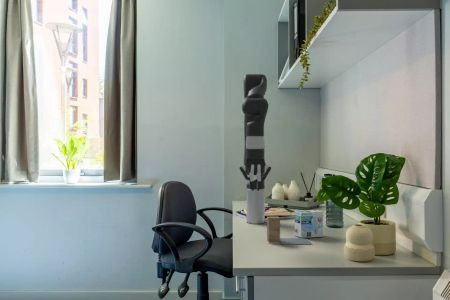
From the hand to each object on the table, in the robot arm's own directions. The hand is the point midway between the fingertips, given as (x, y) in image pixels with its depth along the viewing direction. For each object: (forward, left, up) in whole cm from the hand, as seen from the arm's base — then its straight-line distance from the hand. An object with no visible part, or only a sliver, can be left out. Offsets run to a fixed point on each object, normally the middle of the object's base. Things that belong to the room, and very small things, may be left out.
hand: (255, 190), depth 163 cm
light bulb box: (-9, +25, -21) cm, 34 cm away
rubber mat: (0, +16, -21) cm, 26 cm away
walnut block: (0, +8, -21) cm, 22 cm away
